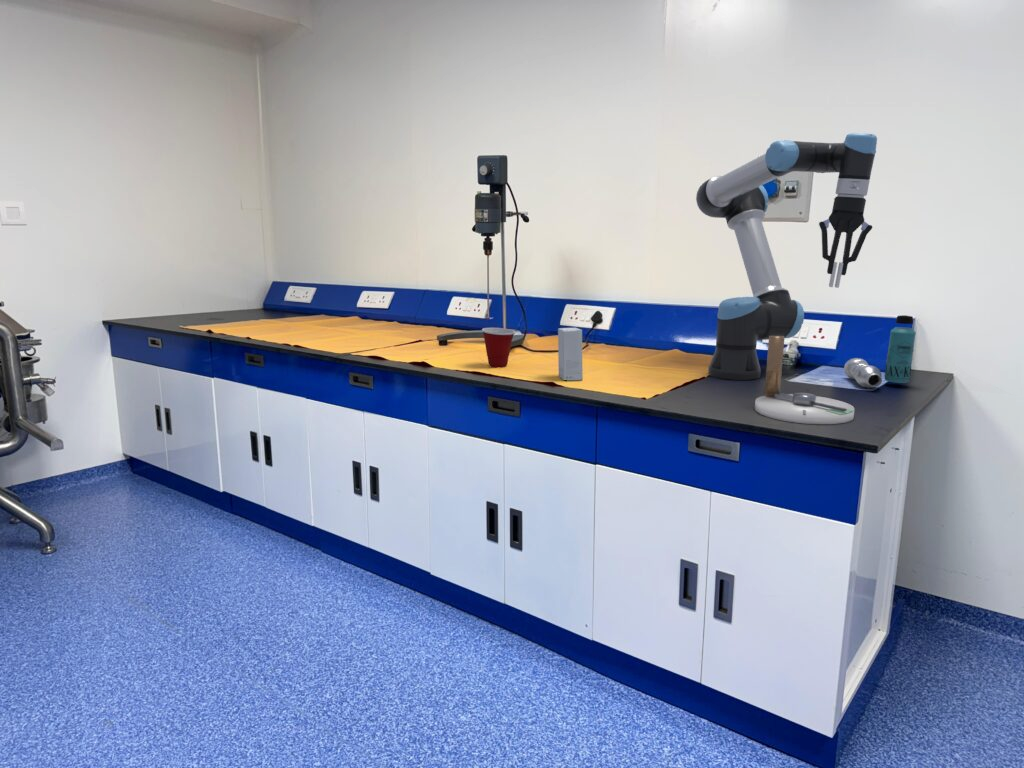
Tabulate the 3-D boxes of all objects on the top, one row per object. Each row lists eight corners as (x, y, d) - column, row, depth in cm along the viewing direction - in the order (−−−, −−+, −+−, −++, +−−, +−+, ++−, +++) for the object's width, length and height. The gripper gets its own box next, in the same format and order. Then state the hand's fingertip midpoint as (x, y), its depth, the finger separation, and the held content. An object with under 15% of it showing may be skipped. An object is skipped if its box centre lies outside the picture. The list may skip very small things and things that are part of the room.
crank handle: (851, 410, 160) (858, 346, 157) (838, 413, 158) (845, 347, 155) (772, 393, 178) (776, 334, 175) (759, 395, 175) (764, 336, 172)
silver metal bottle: (865, 378, 209) (887, 392, 190) (840, 377, 210) (860, 391, 191) (867, 357, 208) (889, 369, 188) (843, 356, 209) (862, 368, 190)
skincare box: (582, 380, 204) (584, 330, 201) (562, 381, 203) (563, 330, 200) (576, 375, 212) (577, 326, 209) (556, 375, 211) (557, 326, 208)
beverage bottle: (878, 383, 201) (886, 314, 197) (900, 383, 202) (908, 314, 198) (892, 388, 195) (900, 316, 191) (914, 388, 195) (923, 316, 191)
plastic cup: (508, 370, 219) (508, 332, 217) (476, 367, 223) (476, 330, 221) (520, 364, 229) (520, 328, 227) (489, 362, 233) (489, 326, 231)
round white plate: (752, 418, 162) (753, 409, 162) (756, 398, 182) (757, 390, 182) (857, 428, 154) (858, 418, 154) (850, 406, 174) (851, 397, 174)
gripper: (823, 194, 180) (807, 285, 187) (882, 198, 176) (863, 291, 183) (820, 194, 187) (805, 282, 194) (877, 198, 183) (859, 287, 190)
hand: (833, 286), depth 188 cm, fingers closed
